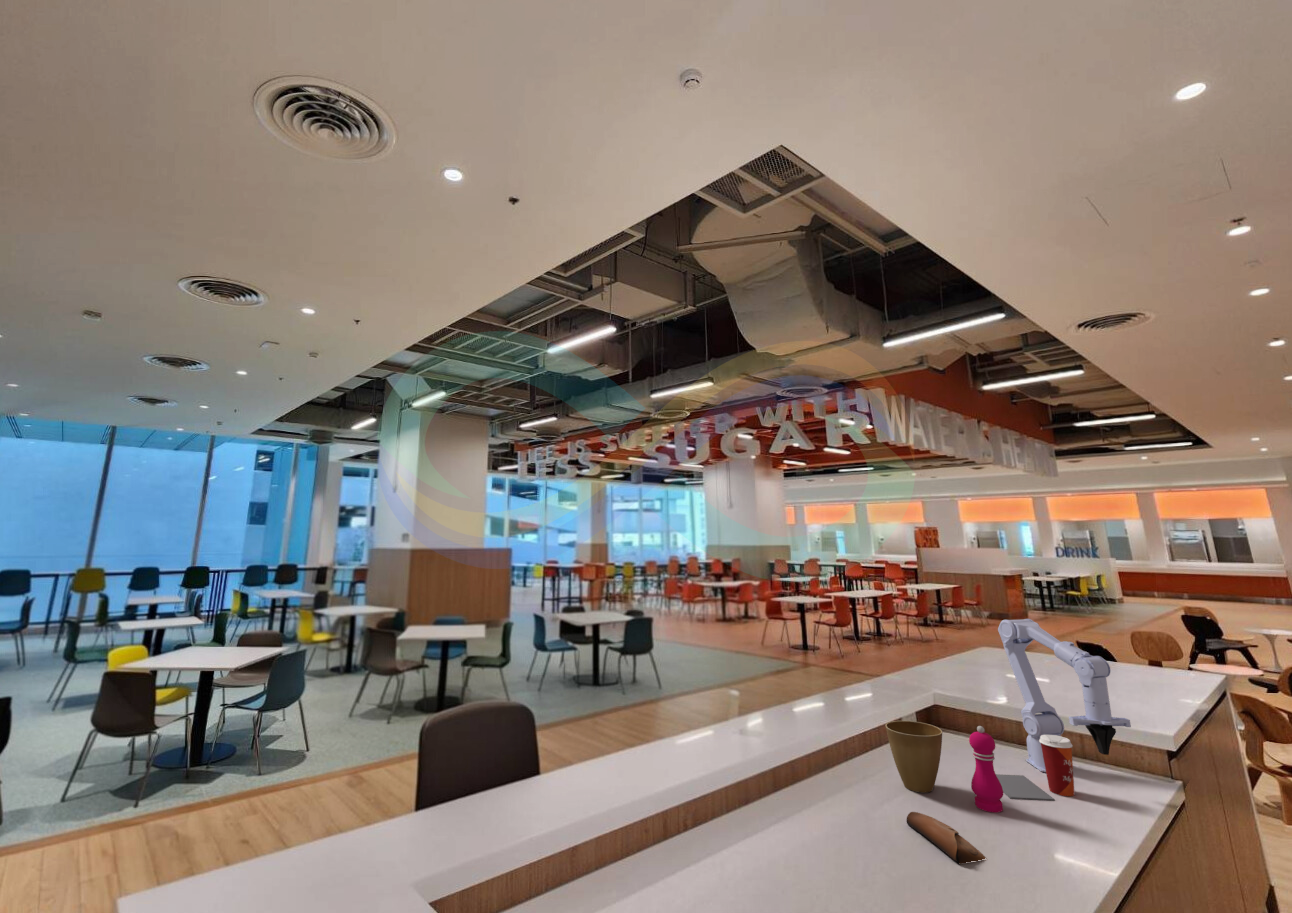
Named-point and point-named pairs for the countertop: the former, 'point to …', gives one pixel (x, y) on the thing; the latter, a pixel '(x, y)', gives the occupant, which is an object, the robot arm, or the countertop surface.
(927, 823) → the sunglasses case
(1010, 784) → the mat
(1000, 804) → the pepper mill
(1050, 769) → the paper cup
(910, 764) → the plant pot
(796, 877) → the countertop surface
